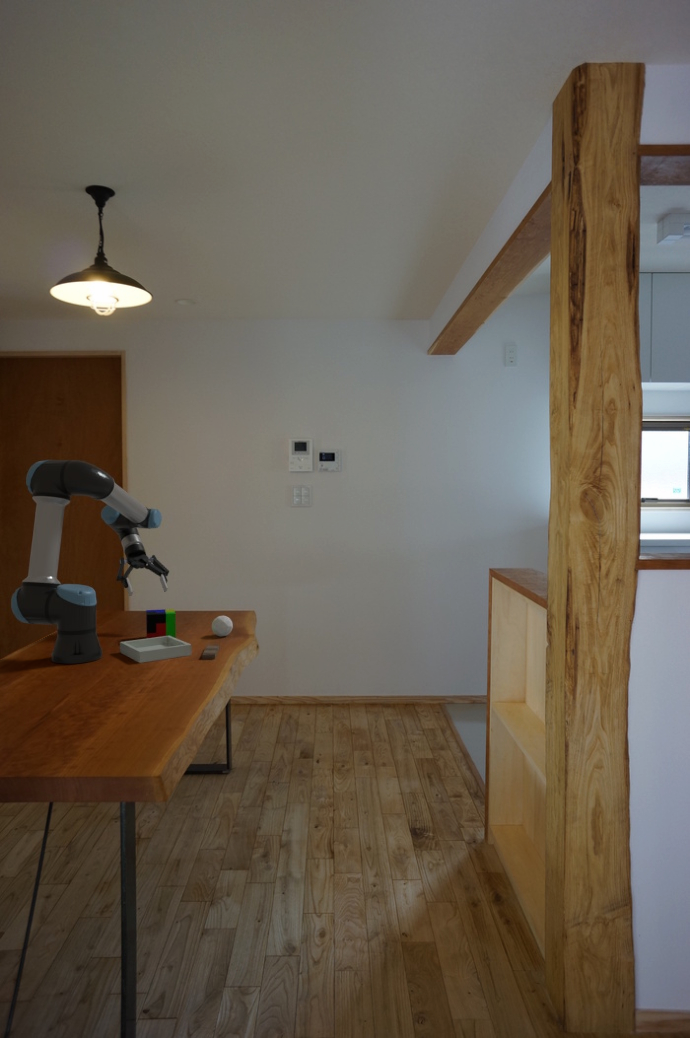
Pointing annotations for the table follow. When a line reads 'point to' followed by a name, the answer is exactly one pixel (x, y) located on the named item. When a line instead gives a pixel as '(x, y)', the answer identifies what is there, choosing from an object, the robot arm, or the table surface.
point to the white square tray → (155, 649)
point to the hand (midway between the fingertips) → (149, 591)
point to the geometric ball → (222, 626)
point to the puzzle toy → (160, 623)
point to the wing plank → (210, 652)
